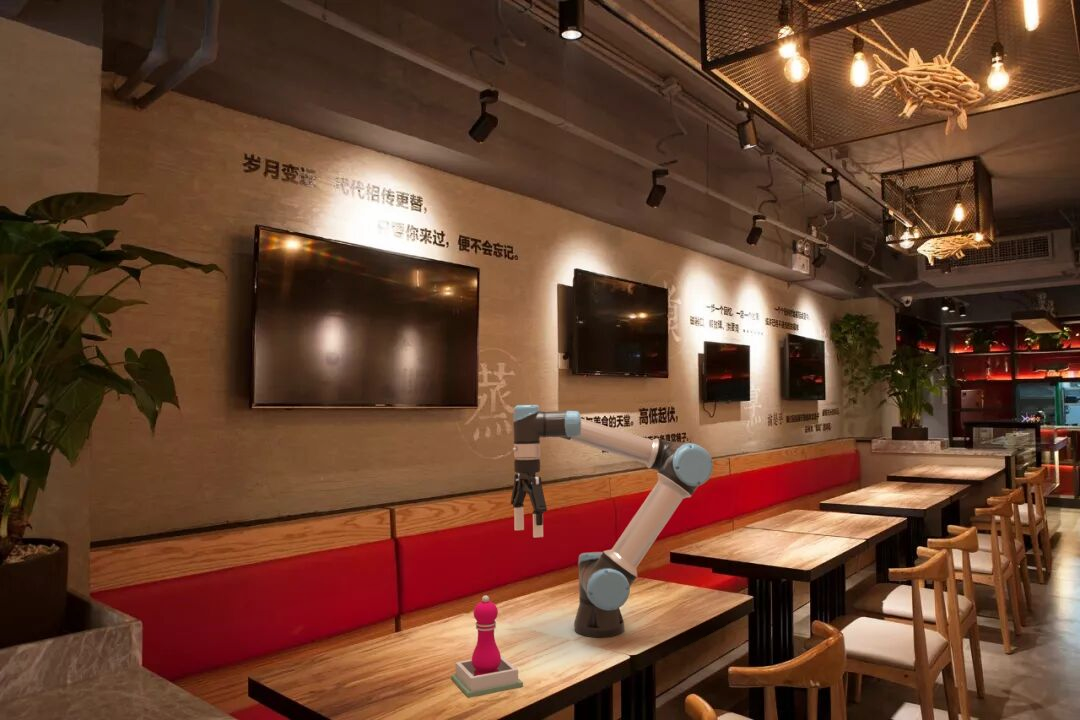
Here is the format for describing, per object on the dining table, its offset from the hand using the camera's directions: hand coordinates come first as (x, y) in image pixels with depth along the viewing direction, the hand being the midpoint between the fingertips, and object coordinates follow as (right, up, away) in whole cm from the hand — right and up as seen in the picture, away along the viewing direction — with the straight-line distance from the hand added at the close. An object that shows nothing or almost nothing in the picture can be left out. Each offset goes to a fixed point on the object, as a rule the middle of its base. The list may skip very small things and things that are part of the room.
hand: (528, 533), depth 199 cm
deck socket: (-10, -30, -27) cm, 42 cm away
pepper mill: (-10, -29, -27) cm, 41 cm away
